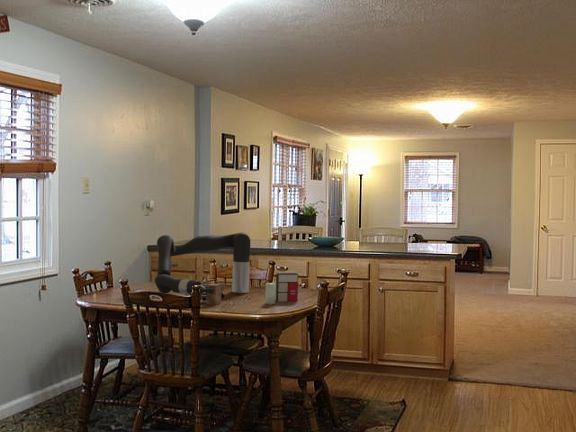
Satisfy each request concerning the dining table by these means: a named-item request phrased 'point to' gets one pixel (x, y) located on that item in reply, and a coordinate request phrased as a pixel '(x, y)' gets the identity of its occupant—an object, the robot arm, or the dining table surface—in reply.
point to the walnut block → (214, 294)
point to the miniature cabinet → (286, 287)
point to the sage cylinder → (270, 293)
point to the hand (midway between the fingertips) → (217, 290)
